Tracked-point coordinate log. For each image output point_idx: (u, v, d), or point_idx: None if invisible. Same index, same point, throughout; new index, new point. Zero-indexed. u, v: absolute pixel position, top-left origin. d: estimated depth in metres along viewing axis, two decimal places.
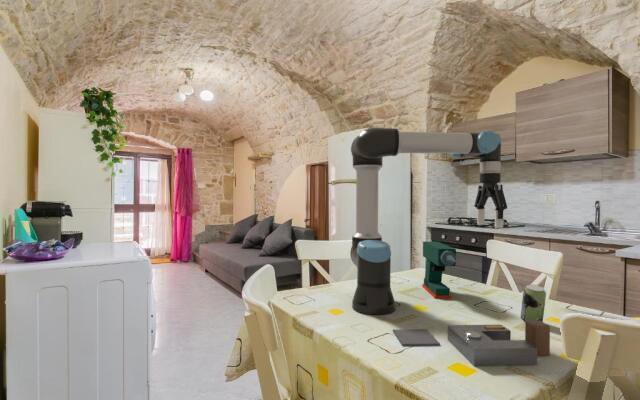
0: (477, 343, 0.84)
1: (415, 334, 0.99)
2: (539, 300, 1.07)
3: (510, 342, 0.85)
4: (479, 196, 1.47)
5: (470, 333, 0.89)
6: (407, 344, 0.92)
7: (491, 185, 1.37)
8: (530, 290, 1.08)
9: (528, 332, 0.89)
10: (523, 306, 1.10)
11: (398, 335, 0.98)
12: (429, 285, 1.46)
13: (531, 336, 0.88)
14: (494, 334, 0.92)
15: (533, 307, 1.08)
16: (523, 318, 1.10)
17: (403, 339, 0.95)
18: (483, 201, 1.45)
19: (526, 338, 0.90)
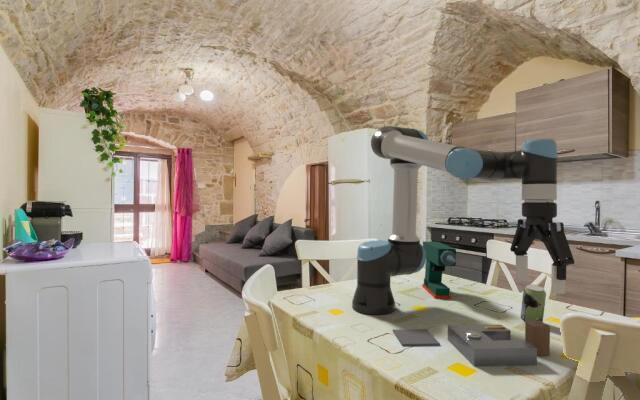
0: (477, 343, 0.84)
1: (415, 334, 0.99)
2: (539, 300, 1.07)
3: (510, 342, 0.85)
4: (519, 236, 0.95)
5: (470, 333, 0.89)
6: (407, 344, 0.92)
7: (543, 222, 0.85)
8: (530, 290, 1.08)
9: (528, 332, 0.89)
10: (523, 306, 1.10)
11: (398, 335, 0.98)
12: (429, 285, 1.46)
13: (531, 336, 0.88)
14: (494, 334, 0.92)
15: (533, 307, 1.08)
16: (523, 318, 1.10)
17: (403, 339, 0.95)
18: (526, 244, 0.93)
19: (526, 338, 0.90)
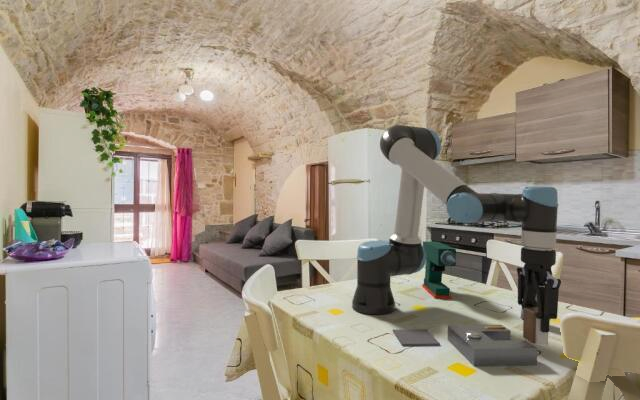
0: (477, 343, 0.84)
1: (415, 334, 0.99)
2: None
3: (510, 342, 0.85)
4: (522, 285, 0.94)
5: (470, 333, 0.89)
6: (407, 344, 0.92)
7: (542, 271, 0.85)
8: None
9: (526, 318, 0.89)
10: None
11: (398, 335, 0.98)
12: (429, 285, 1.46)
13: (529, 322, 0.88)
14: (494, 334, 0.92)
15: None
16: None
17: (403, 339, 0.95)
18: (531, 294, 0.91)
19: (524, 324, 0.90)
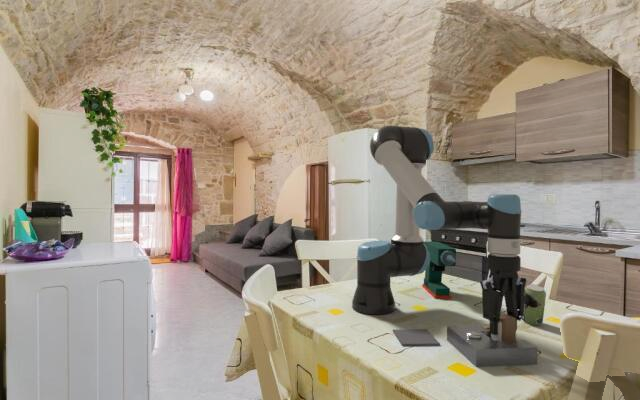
0: (478, 343, 0.84)
1: (415, 334, 0.99)
2: (539, 300, 1.07)
3: (510, 342, 0.85)
4: (514, 293, 0.93)
5: (470, 333, 0.89)
6: (407, 344, 0.92)
7: None
8: (530, 290, 1.08)
9: None
10: None
11: (398, 335, 0.98)
12: (429, 285, 1.46)
13: None
14: None
15: (533, 307, 1.08)
16: (523, 318, 1.10)
17: (403, 339, 0.95)
18: (508, 302, 0.91)
19: None
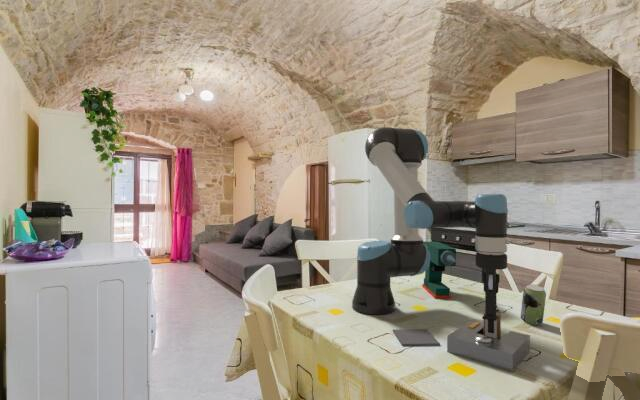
0: (501, 347, 0.82)
1: (415, 334, 0.99)
2: (539, 300, 1.07)
3: (510, 337, 0.88)
4: None
5: (482, 338, 0.86)
6: (407, 344, 0.92)
7: (486, 274, 0.90)
8: (530, 290, 1.08)
9: None
10: (523, 306, 1.10)
11: (398, 335, 0.98)
12: (429, 285, 1.46)
13: None
14: (480, 332, 0.94)
15: (533, 307, 1.08)
16: (523, 318, 1.10)
17: (403, 339, 0.95)
18: None
19: None
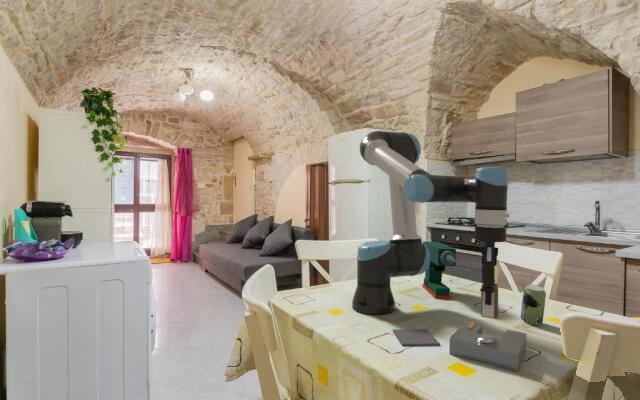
0: (505, 347, 0.82)
1: (415, 334, 0.99)
2: (539, 300, 1.07)
3: (509, 336, 0.89)
4: None
5: (484, 339, 0.85)
6: (407, 344, 0.92)
7: None
8: (530, 290, 1.08)
9: None
10: (523, 306, 1.10)
11: (398, 335, 0.98)
12: (429, 285, 1.46)
13: None
14: (479, 332, 0.94)
15: (533, 307, 1.08)
16: (523, 318, 1.10)
17: (403, 339, 0.95)
18: None
19: None
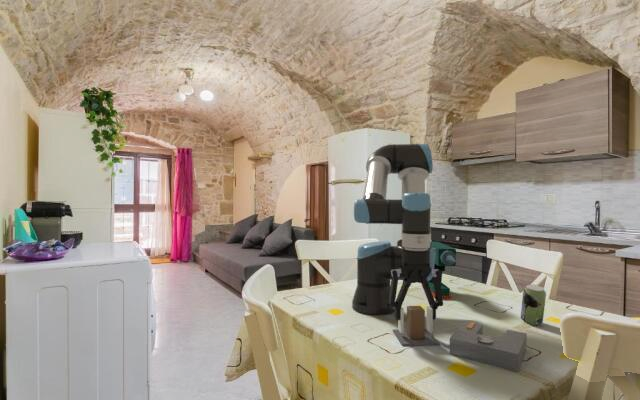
0: (505, 347, 0.82)
1: None
2: (539, 300, 1.07)
3: (509, 336, 0.89)
4: (434, 285, 0.98)
5: (484, 339, 0.85)
6: (407, 344, 0.92)
7: None
8: (530, 290, 1.08)
9: None
10: (523, 306, 1.10)
11: (398, 335, 0.98)
12: (429, 285, 1.46)
13: None
14: (479, 332, 0.94)
15: (533, 307, 1.08)
16: (523, 318, 1.10)
17: (403, 339, 0.95)
18: (425, 292, 0.98)
19: None
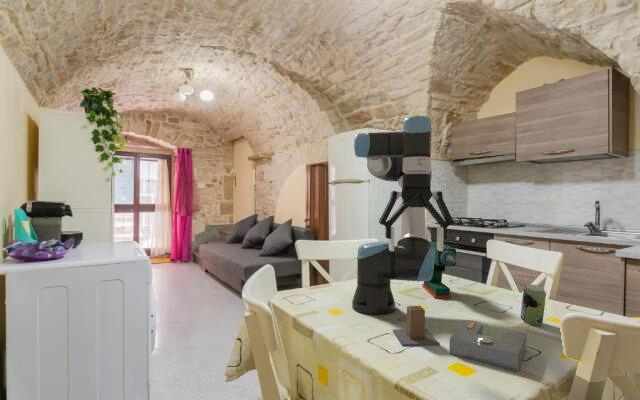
0: (505, 347, 0.82)
1: None
2: (539, 300, 1.07)
3: (509, 336, 0.89)
4: (439, 207, 0.98)
5: (484, 339, 0.85)
6: (407, 344, 0.92)
7: None
8: (530, 290, 1.08)
9: None
10: (523, 306, 1.10)
11: (398, 335, 0.98)
12: (429, 285, 1.46)
13: None
14: (479, 332, 0.94)
15: (533, 307, 1.08)
16: (523, 318, 1.10)
17: (403, 339, 0.95)
18: (433, 215, 0.97)
19: None
